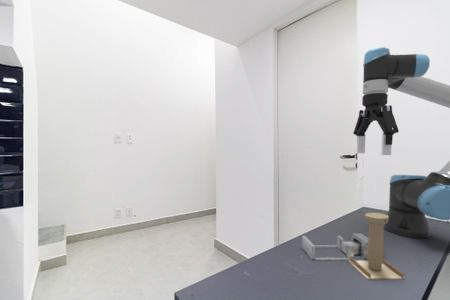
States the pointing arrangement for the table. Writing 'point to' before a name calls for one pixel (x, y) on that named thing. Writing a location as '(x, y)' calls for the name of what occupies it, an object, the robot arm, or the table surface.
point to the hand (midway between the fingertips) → (372, 154)
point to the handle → (376, 239)
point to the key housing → (363, 240)
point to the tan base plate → (370, 274)
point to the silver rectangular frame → (310, 248)
